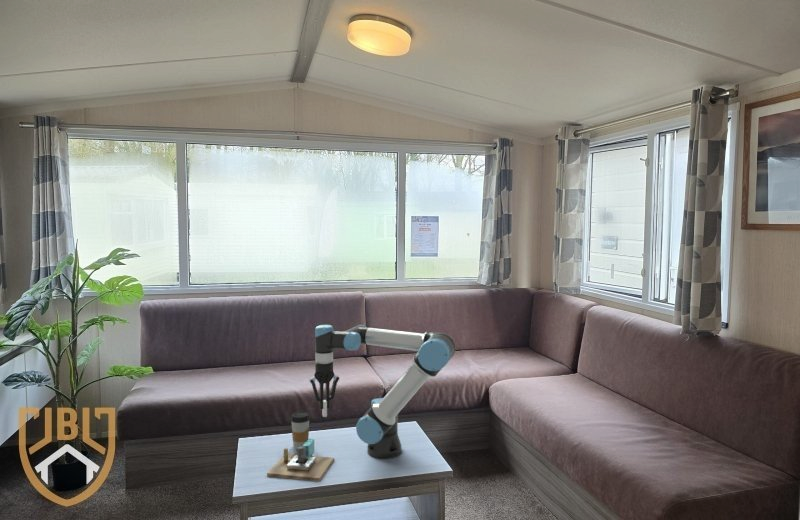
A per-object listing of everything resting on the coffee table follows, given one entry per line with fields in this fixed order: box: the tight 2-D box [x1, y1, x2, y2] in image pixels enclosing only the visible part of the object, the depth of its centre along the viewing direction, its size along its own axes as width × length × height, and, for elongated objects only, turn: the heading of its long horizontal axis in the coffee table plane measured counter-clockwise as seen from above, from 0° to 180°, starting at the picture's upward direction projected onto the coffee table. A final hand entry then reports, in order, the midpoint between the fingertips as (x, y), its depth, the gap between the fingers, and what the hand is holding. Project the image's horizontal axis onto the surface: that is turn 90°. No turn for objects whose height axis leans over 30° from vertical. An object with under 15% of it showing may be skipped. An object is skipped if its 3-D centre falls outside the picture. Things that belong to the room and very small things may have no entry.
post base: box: [266, 446, 335, 482], centre depth 208 cm, size 22×18×8 cm
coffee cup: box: [290, 411, 311, 451], centre depth 228 cm, size 8×8×15 cm
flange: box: [287, 438, 316, 470], centre depth 211 cm, size 9×16×6 cm, turn 169°
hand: (324, 415), depth 217 cm, fingers closed
